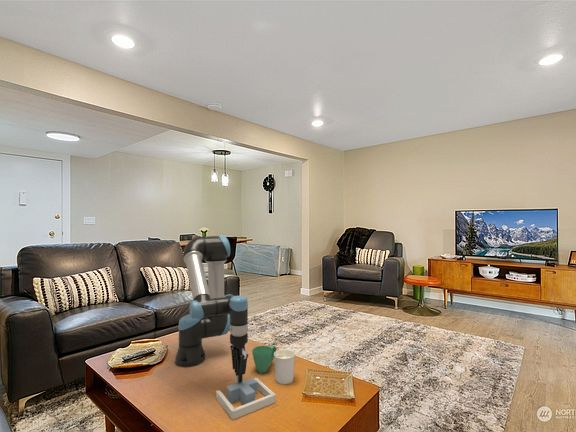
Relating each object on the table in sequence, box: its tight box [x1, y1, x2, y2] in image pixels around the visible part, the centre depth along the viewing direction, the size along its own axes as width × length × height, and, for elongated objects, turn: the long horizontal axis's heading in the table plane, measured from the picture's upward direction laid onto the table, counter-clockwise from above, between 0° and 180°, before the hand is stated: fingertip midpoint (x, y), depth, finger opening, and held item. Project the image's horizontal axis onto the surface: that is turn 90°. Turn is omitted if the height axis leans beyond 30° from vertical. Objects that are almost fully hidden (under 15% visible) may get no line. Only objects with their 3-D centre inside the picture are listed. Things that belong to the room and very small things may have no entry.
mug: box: [251, 344, 277, 374], centre depth 152 cm, size 15×10×10 cm
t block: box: [226, 377, 258, 405], centre depth 126 cm, size 10×12×5 cm
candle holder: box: [273, 348, 296, 385], centre depth 141 cm, size 10×10×12 cm
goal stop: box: [215, 377, 277, 420], centre depth 125 cm, size 16×19×3 cm
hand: (238, 388), depth 131 cm, fingers closed
